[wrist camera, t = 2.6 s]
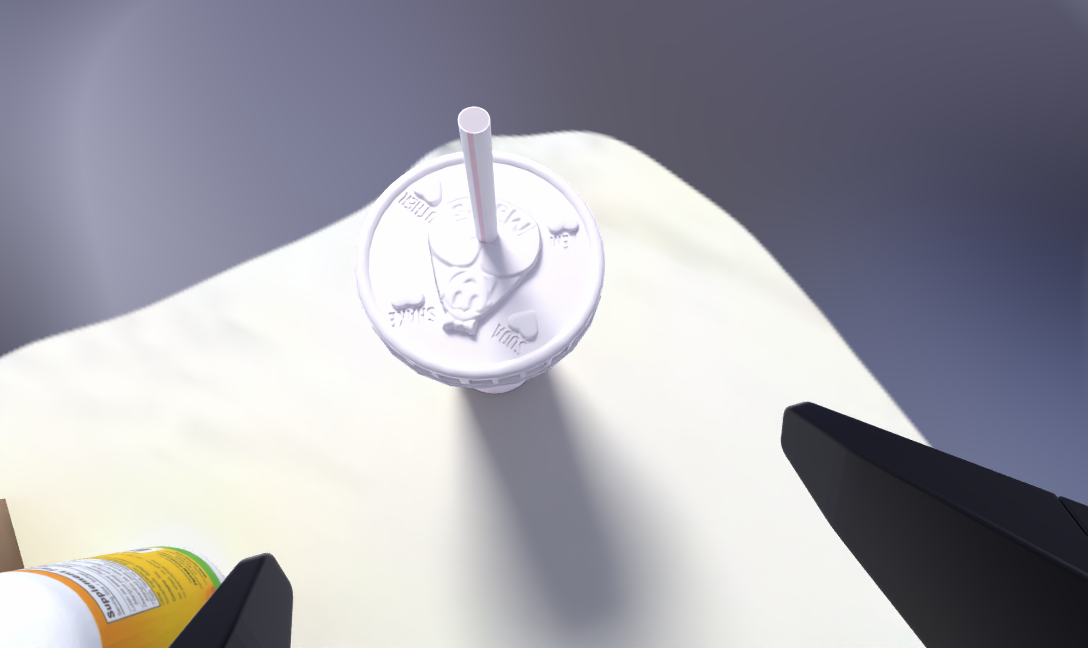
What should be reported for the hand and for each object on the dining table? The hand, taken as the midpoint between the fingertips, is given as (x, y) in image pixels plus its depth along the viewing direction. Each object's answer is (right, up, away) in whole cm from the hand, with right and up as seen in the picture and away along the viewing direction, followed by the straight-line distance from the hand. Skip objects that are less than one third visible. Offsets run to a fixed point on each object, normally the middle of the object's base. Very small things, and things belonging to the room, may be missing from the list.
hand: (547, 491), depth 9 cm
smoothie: (-2, +2, +13) cm, 14 cm away
